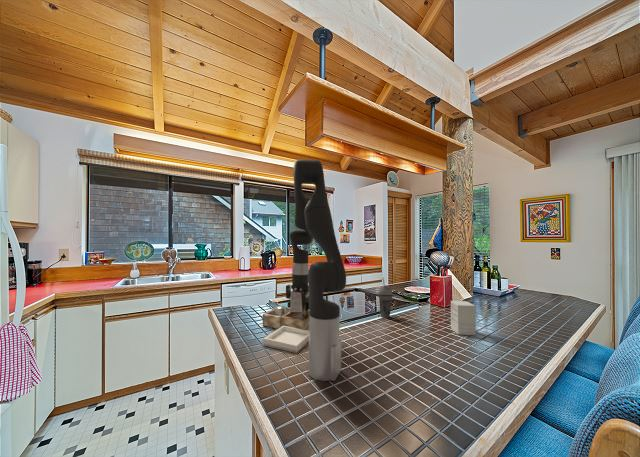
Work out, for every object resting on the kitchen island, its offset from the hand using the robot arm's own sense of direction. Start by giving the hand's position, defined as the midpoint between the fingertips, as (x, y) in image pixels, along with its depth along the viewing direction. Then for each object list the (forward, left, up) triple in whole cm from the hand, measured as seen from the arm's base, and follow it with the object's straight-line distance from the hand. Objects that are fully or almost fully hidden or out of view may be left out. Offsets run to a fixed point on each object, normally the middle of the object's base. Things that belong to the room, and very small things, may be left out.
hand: (299, 309), depth 110 cm
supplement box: (-68, -25, -8) cm, 73 cm away
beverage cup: (-34, -30, -8) cm, 46 cm away
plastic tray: (-4, +16, -7) cm, 18 cm away
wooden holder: (+5, 0, -7) cm, 9 cm away
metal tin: (+10, 0, -7) cm, 13 cm away
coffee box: (0, 0, -8) cm, 8 cm away
